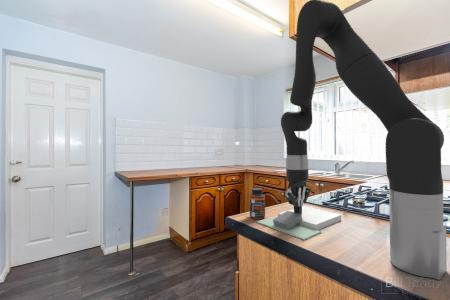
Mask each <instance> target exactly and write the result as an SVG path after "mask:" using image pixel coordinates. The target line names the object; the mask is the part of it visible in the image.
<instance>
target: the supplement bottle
mask: <svg viewBox="0 0 450 300" xmlns="http://www.w3.org/2000/svg"><path fill="white" fill-rule="evenodd" d="M249 216H250V218H251V219H252V220H263V219H266V196H265V194H264V193H263V188H260V187H253V188H252V189H251V194H249Z"/></svg>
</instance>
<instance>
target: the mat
mask: <svg viewBox="0 0 450 300" xmlns="http://www.w3.org/2000/svg"><path fill="white" fill-rule="evenodd" d="M277 217H278V216H271V217H268V218H263V219H259V220H257V221H256V223H257V224H260V225H262V226H265V227H267V228H270V229H272V230H273V229H274V230H276V231H278V232H281V233H283V234H286V235H289V236H291V237H294V238H297V239H299V240H302V241H306V240H308V239H310V238H312V237H315V236H318V235H319V234H321V233H322V230H321V231H320V230H315V229H312V228H309V227H305V226H302V225H299V224H296V225H295V226H293V227H292V228H290V229H289V230H286V229H283V228H280V227H278V226H275V225H274V223H273V220H274V219H275V218H277Z"/></svg>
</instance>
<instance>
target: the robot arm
mask: <svg viewBox="0 0 450 300" xmlns="http://www.w3.org/2000/svg"><path fill="white" fill-rule="evenodd" d="M295 35H296V36H295V38H296V41H295V67H294V77H293V82H292V88H291V92H290V99H289V100H290V104H292V105H293V106H296V107H299V109H300V111H293V110H292V111H285V112H284V113H283V114H282V116H281V118H280V126H281V130H282V132H283V136H284V140H285V144H286V158H285V159H286V160H285V167H286V168H285V172H286V173H285V174H286V176H285V177H286V178H285V179H286V181H287V182H288V185H287V190H286V191H283V195H284V198H285V199H286V200H287V202H288V204H289V205H291V206H293V209H294V213H298V214H301V215H302V206H304V204H306V203H307V201H308V198H309V196H310V193H311V191H312V190H311V189H312V188H309V187H307V185H308V184H307V182H308V181H309V158H308V141H307V139H306V138H303V137H299V136H297V134H296V132H306V131H308V130H309V129H310V128H311V127H312V125H313V110H312V109H313V107H312V105H313V104H312V103H313V102H312V101H313V97H314V92H315V88H316V83H317V75H316V74H317V73H316V68H315V64H314V63H315V62H314V45H315V41H316V38H319V39H321V40H322V41H323V42H325V43H326V44H327V46H328V47H329V48H330V49H331V51H332V52H333V55H334V60H335V61H334V62H335V68H336V72H337V74H338V77H340V79H341V81H342V82H343V83H344V85H345V86H346V88H347V89H348V90H349V92H351V94H353V96H355V98H357V100H359V101H360V102H361V104H363V105H364V106H365V107H366V108H367V109H369V110H370V111H371V112H372V113H373V114H374V115H375V116H376V117H377V118H378V119H379V121H380V122H381V123H382V125H383V126H384V128H385V130H386V131H387V134H386V137H385V165H386V167H385V169H386V171H385V172H386V175H387V179H388V187H389V190H388V191H389V193H388V194H389V198H388V199H389V202H388V203H389V255H390V256H389V257H390V260H389V261H390V263H391V264H392V265H393V266H395V267H396V268H397V269H399V270H401V271H403V272H406V273H407V274H411V275H414V276H415V275H416V276H418V277H419V276H420V277H423V278H431V279H435V280H438V281H440V280H441V279H442V277H443V276H444V275H445V273H446V272H447V266H448V265H447V263H448V262H447V228H446V226H444V180H443V177H442V176H443V174H442V147H443V145H444V143H445V134H444V132H443V131H442V129H441V128H440V127H439V126H438V125H437V124H436V123H435V122H433V121H432V120H431V119H430V118H429V117H428V116H426V115H425V114H424V113H423V112H422V111H421V110H420V109H419V108H418V107H417V106H416V105H415V104H414V103H413V101H411V100H410V99H409V98H408V96H407V95H406V93H405V92H404V90H403V89H402V87H401V86H400V84H399V83H398V81H397V80H396V78H395V77H394V76H393V74H392V72H391V71H390V70H389V68H388V67H387V66H386V65H385V63H384V62H383V61H382V60H381V59H380V57H379V56H378V55H377V54H376V53H375V52H374V51H373V50H372V48H370V47H369V45H368V44H367V43H366V42H365V41H364V40H363V38H362V37H361V36H360V35H358V34H357V32H355V30H354V28H353V27H352V25H351V24H350V22H349V20H348V19H347V18H346V16H345V15H344V13H343V11H342V9H340V7H339V6H338V5H337V4H336V3H333V2H330V1H326V0H308V1H307V2H305V3H304V4H303V5H302V7H301V9H300V11H299V12H298V16H297V23H296V34H295Z"/></svg>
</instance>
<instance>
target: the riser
mask: <svg viewBox="0 0 450 300" xmlns="http://www.w3.org/2000/svg"><path fill="white" fill-rule="evenodd" d="M286 211H290V212H294V208H292V209H288V210H285V211H280V212H278V213H277V217H278V216H280V215H282V214H283V213H285V212H286ZM340 221H342V214H340V213H335V212H330V211H327V210H323V209H319V208H313V207H310V206H305V205H302V221H300V222H299V223H297V224H299V225H302V226H305V227H309V228H312V229H315V230H318V231H320V230H321V229H323V228H326V227H328V226H331V225H333V224H336V223H338V222H340Z"/></svg>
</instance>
